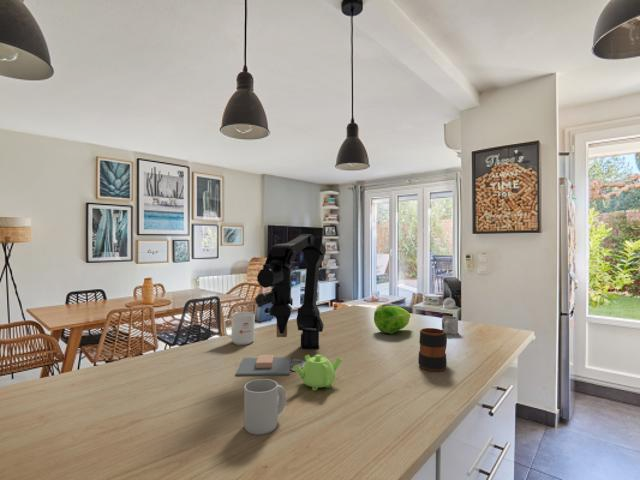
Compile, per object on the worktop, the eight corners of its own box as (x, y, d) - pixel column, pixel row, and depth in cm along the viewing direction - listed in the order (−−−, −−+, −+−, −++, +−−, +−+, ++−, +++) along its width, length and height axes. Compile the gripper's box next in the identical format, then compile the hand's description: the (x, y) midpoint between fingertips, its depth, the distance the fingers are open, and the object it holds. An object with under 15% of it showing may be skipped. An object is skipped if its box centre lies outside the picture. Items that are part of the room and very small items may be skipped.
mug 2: (457, 365, 115) (457, 329, 115) (436, 374, 107) (436, 336, 107) (434, 358, 121) (434, 324, 121) (412, 366, 114) (413, 330, 114)
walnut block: (287, 334, 115) (287, 316, 115) (286, 337, 112) (286, 318, 112) (277, 334, 115) (277, 316, 115) (276, 337, 112) (276, 318, 112)
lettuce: (421, 331, 157) (421, 304, 157) (390, 338, 146) (390, 309, 146) (398, 325, 168) (398, 300, 168) (367, 331, 157) (367, 304, 157)
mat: (290, 359, 120) (290, 357, 120) (289, 374, 106) (289, 372, 106) (243, 359, 119) (243, 357, 119) (235, 375, 105) (235, 373, 105)
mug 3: (444, 330, 160) (444, 315, 160) (459, 332, 156) (459, 317, 156) (437, 334, 152) (437, 319, 152) (453, 337, 148) (453, 321, 148)
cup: (238, 425, 77) (238, 384, 77) (276, 411, 84) (276, 373, 84) (254, 439, 72) (254, 395, 72) (294, 423, 78) (294, 383, 78)
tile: (274, 355, 117) (272, 362, 110) (273, 360, 117) (272, 368, 110) (258, 355, 116) (256, 362, 109) (258, 360, 116) (255, 368, 109)
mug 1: (250, 337, 146) (250, 311, 146) (257, 343, 138) (257, 315, 138) (221, 341, 140) (221, 313, 140) (226, 347, 132) (226, 318, 132)
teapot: (331, 396, 91) (331, 364, 91) (290, 390, 95) (291, 359, 95) (342, 380, 102) (342, 351, 102) (305, 375, 106) (305, 347, 106)
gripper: (260, 280, 123) (260, 324, 123) (252, 287, 104) (252, 340, 104) (292, 280, 123) (292, 324, 123) (290, 287, 104) (290, 340, 105)
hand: (282, 331), depth 114 cm, fingers closed on walnut block, 3 cm apart
